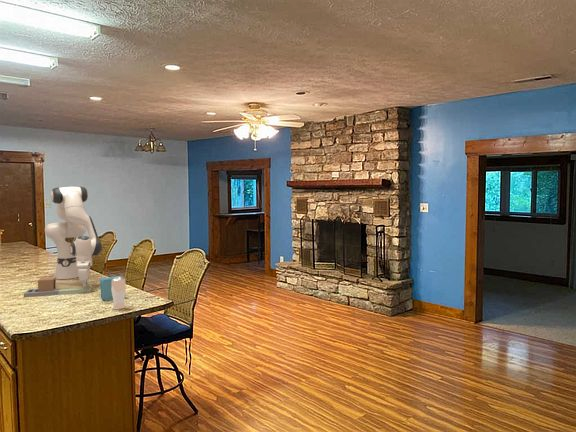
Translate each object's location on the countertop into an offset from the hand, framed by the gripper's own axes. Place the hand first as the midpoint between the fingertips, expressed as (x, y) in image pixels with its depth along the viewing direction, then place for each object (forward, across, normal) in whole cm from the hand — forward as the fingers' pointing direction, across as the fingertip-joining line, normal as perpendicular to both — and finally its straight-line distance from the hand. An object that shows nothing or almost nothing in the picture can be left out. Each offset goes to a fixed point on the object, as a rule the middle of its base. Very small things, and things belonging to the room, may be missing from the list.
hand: (85, 285), depth 272 cm
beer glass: (+3, +51, +22) cm, 55 cm away
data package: (+3, +29, +18) cm, 34 cm away
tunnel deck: (+3, 0, -14) cm, 14 cm away
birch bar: (+1, 0, -8) cm, 8 cm away
